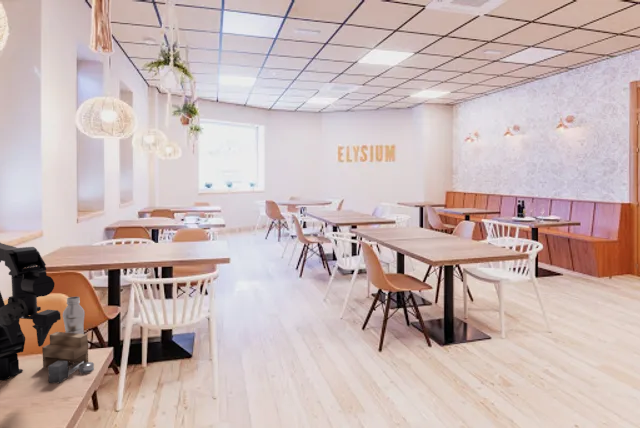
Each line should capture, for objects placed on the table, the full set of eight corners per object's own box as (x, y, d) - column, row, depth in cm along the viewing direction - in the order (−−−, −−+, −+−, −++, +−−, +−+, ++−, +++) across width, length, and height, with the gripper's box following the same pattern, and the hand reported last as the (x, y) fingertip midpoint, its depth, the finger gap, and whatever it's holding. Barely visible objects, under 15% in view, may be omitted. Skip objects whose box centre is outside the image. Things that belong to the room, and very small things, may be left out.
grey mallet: (49, 382, 128) (48, 366, 127) (76, 364, 140) (75, 349, 140) (59, 383, 127) (58, 366, 127) (85, 365, 140) (85, 350, 139)
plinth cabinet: (43, 367, 138) (41, 338, 137) (58, 359, 144) (56, 331, 143) (74, 370, 136) (73, 341, 135) (88, 362, 141) (87, 334, 141)
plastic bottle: (80, 359, 144) (77, 300, 142) (59, 359, 144) (57, 300, 142) (90, 352, 150) (88, 295, 149) (71, 352, 150) (69, 295, 149)
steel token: (76, 373, 134) (76, 366, 134) (85, 367, 138) (84, 361, 138) (88, 374, 134) (88, 367, 134) (96, 368, 138) (96, 362, 137)
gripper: (-31, 297, 118) (-27, 352, 119) (27, 301, 114) (30, 358, 115) (7, 287, 129) (9, 338, 130) (60, 290, 125) (63, 343, 126)
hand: (26, 344), depth 125 cm, fingers open, 9 cm apart
